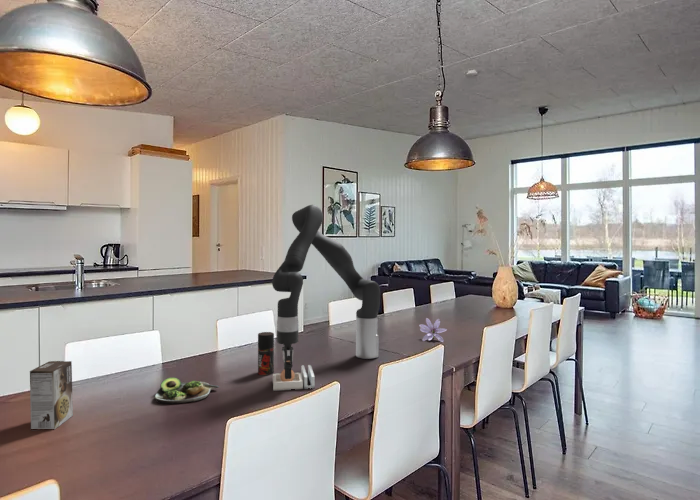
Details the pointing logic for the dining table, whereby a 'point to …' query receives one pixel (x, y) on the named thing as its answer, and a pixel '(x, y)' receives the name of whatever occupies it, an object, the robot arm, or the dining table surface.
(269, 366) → the deodorant
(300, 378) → the dish
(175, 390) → the salad plate
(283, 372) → the ball
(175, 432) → the dining table surface
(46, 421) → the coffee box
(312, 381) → the grey grooved channel
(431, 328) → the water lily
